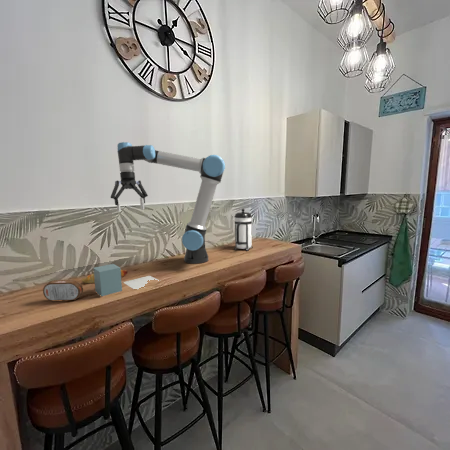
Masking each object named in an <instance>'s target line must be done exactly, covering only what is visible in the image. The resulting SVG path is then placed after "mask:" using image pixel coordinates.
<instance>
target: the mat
mask: <svg viewBox="0 0 450 450" xmlns="http://www.w3.org/2000/svg"><path fill="white" fill-rule="evenodd" d="M154 279H155V280H158V281H159V279H158V278H156V277H153V276H151V275H147V276H142V277H138V278H135V279H131V280H130V279H129V280H126V281H122V284H125V285H126V286H128V287H129V288H131V289H133V290H134V289H137V290H140V289H139V288H141V287H144V286H145V284H147V283H148V282H147V281H148V280H149V281H150V280H154ZM144 288H145V287H144ZM141 289H142V288H141Z"/></svg>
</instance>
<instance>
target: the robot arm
mask: <svg viewBox="0 0 450 450" xmlns="http://www.w3.org/2000/svg"><path fill="white" fill-rule="evenodd" d="M116 148H117V157H118V168H119V174H120V180H115V181H114V186H113V189H112V192H111V195H110V199H113V200H114V206H116V210H117V212H121V211H122V210H121V201H120V196H121V195H122V193H123V192H124V190H134V192H136V194H137V195H138V196H139V197H140V198H139V201H140V210H145V204H146V197H147V198H148V196H149V195H148V193H147V191H146V190H145V187H144V186H143V184H142V181H141V180H136V174H135V172H134V171H135V166H134V164H135V163H134V161H145V162H147V163H150V164H157V165H162V166H167V167H172V168H178V169H184V170H189V171H193V172H198V173H199V174H200V178H201V183H200V187H199V190H198V193H197V197H196V200H195V204H194V208H193V212H192V214H191V219H190V221H189V222H188V223H186V225H185V230H184V233H183V234H182V237H181V242H182V246H184V248H185V249H186V251H185V254H184V257H183V261H184V263H187V264H193V265H194V264H202V263H203V264H204V263H207V262H208V261H209V255H208V250H207V249H206V234H207V227H206V224H207V221H208V217H209V213H210V210H211V206H212V203H213V200H214V197H215V196H214V195H215V193H216V189H217V185H219V184H221V181H222V178H223V175H224V172H225V169H226V164H225V163H226V162H225V161H224V159H223V158H222V156H220V155H217V154H210V155H208V156H207V157H202V158H198V157H193V156H192V157H191V156H187V155H181V154H177V153H172V152H165V151H161V150H156V149H155V146H154V145H153V144H145V145H144V144H143V145H135V146H134V145H133V144H132V143H131V142H129V141H128V142H127V141H126V142H125V141H123V142H122V141H121V142H118V143H117V147H116ZM120 185H121V187H120V189H119V186H120ZM136 185H137V186H136ZM118 189H119V190H118ZM117 191H118V192H117Z"/></svg>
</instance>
